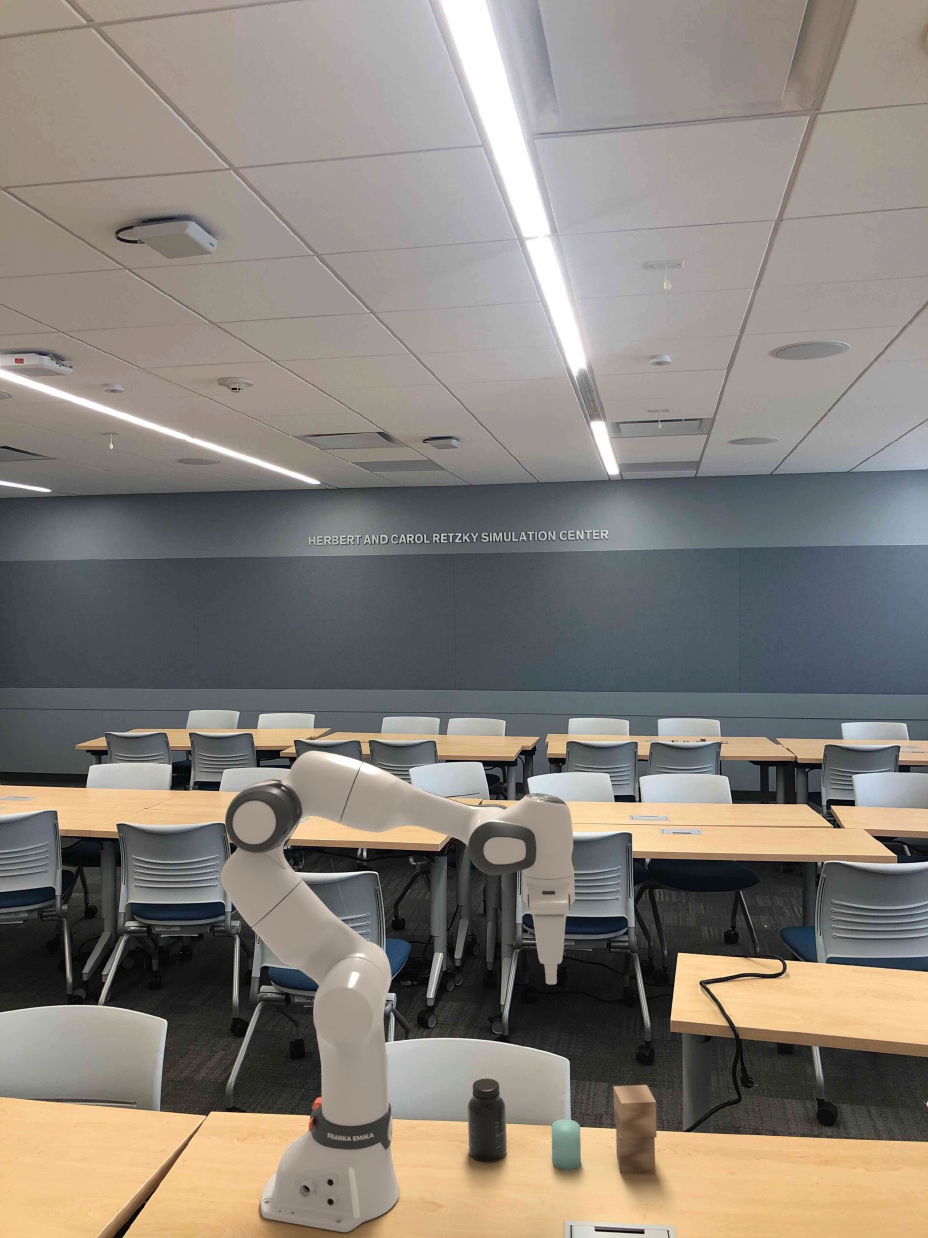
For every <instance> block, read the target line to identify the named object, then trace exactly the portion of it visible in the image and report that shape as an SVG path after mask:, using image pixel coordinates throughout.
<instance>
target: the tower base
mask: <svg viewBox="0 0 928 1238" xmlns="http://www.w3.org/2000/svg"><path fill="white" fill-rule="evenodd" d="M615 1135H616V1136H615V1138H616V1139H615V1141H616V1143H615V1146H616V1158H617V1165H618V1169H619V1174H627V1175H628V1174H630V1175H631V1174H632V1175H656V1154H655V1153H656V1152H655V1151H656V1147H655V1146H656V1144H655V1138H635V1139H622V1138H621V1135H620V1133H619V1131H618V1128H617V1126H616V1125H615Z"/></svg>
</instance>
